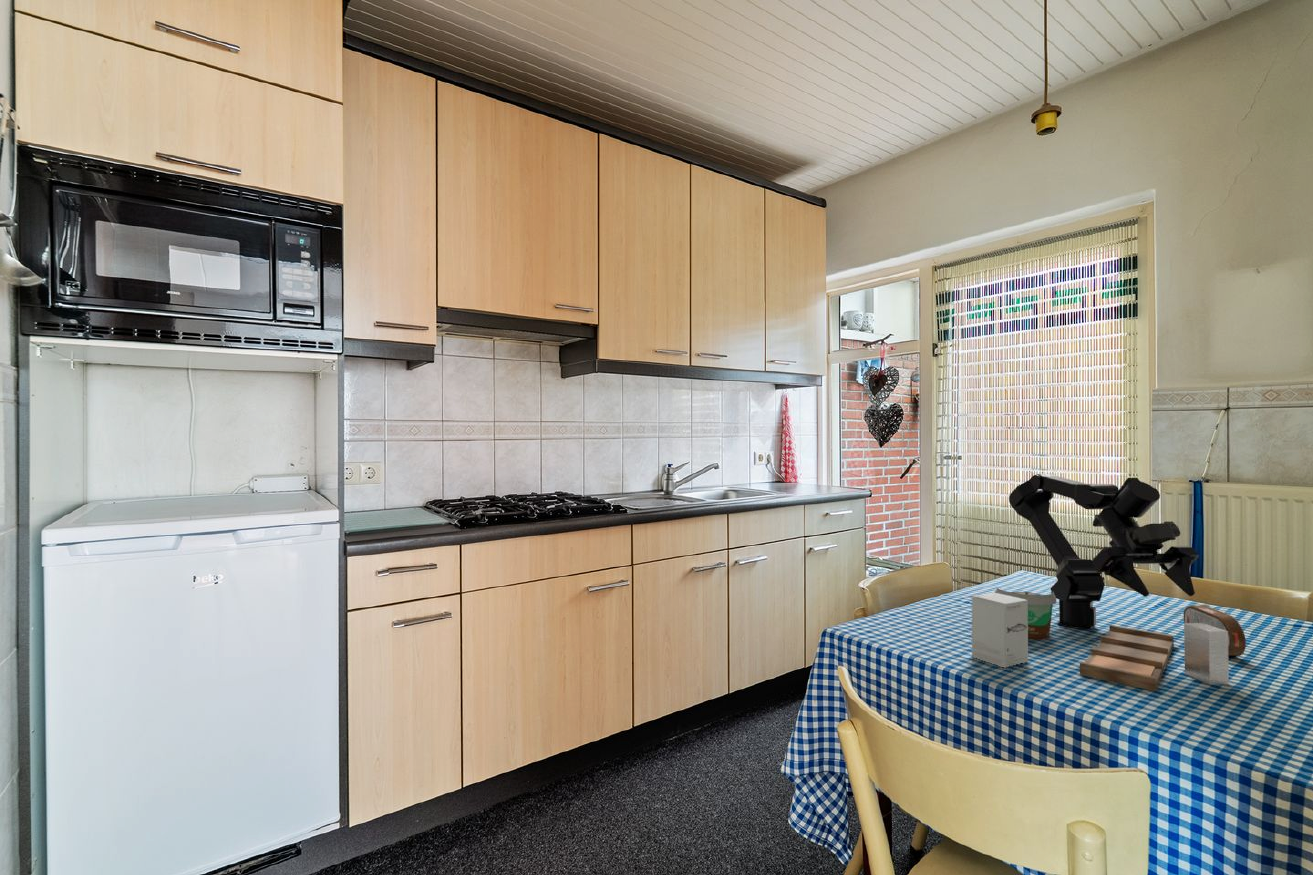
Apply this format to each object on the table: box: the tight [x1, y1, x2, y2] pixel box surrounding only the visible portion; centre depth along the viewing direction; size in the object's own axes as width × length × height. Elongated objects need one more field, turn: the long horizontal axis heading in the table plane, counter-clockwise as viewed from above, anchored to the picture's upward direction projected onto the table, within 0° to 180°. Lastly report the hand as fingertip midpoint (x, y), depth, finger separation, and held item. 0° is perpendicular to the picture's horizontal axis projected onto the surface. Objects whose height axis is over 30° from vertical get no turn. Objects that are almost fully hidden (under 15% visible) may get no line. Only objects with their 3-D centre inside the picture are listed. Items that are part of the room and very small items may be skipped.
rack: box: [1079, 624, 1175, 692], centre depth 121 cm, size 11×34×2 cm, turn 135°
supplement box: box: [971, 592, 1029, 669], centre depth 121 cm, size 7×7×13 cm
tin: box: [1183, 604, 1247, 657], centre depth 127 cm, size 15×3×8 cm, turn 168°
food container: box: [994, 587, 1057, 641], centre depth 136 cm, size 12×6×10 cm, turn 68°
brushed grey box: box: [1183, 622, 1230, 685], centre depth 111 cm, size 5×4×10 cm
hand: (1169, 595), depth 119 cm, fingers open, 9 cm apart
